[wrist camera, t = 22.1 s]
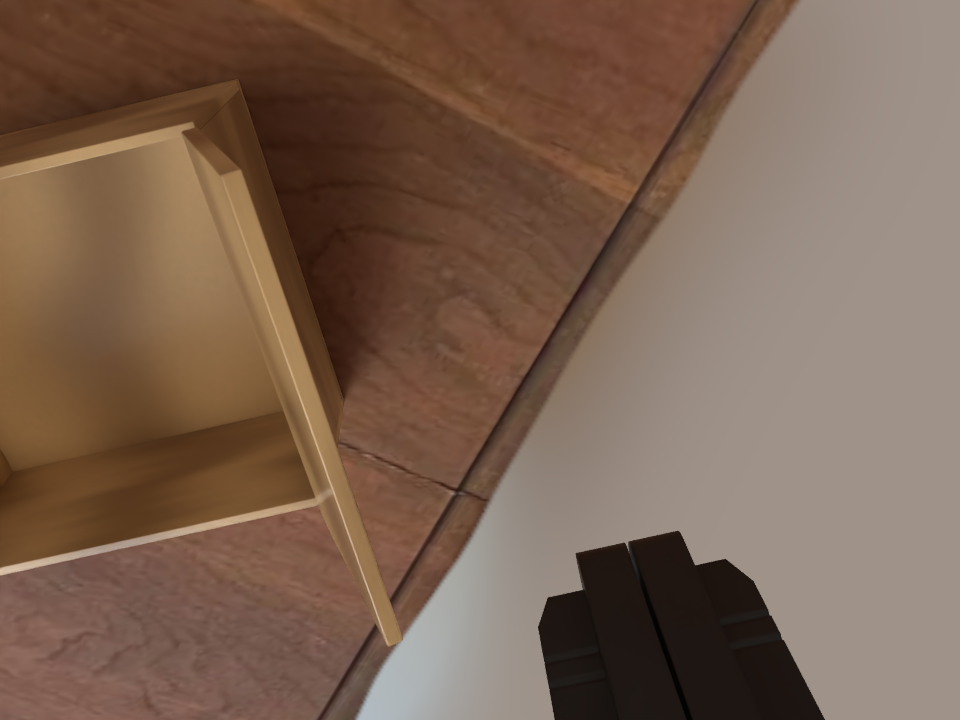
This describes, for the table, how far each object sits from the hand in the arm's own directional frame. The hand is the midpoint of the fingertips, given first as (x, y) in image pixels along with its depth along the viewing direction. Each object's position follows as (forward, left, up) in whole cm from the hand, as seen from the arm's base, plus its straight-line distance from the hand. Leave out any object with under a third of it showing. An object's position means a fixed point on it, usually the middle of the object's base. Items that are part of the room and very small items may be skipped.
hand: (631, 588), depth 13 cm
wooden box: (0, +13, -19) cm, 23 cm away
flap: (0, +6, -9) cm, 11 cm away
